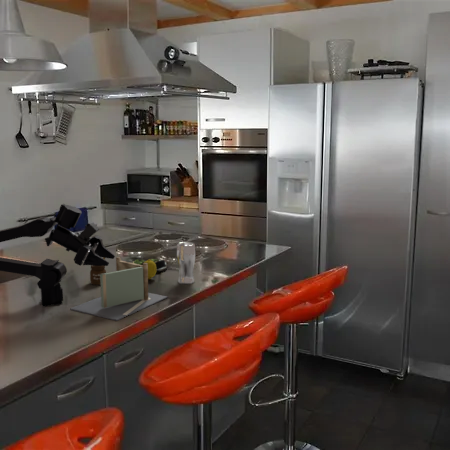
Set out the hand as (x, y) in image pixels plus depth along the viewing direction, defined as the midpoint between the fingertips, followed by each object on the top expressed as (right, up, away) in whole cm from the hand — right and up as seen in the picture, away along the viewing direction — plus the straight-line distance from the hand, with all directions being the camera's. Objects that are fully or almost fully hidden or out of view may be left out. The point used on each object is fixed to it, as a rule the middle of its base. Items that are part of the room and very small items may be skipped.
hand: (111, 260), depth 176 cm
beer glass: (+23, -10, +27) cm, 37 cm away
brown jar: (-10, -10, +26) cm, 29 cm away
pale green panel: (+4, -14, 0) cm, 14 cm away
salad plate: (+6, -7, +46) cm, 47 cm away
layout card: (+3, -14, +2) cm, 15 cm away
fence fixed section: (+5, -13, +9) cm, 17 cm away
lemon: (+8, -9, +30) cm, 33 cm away
